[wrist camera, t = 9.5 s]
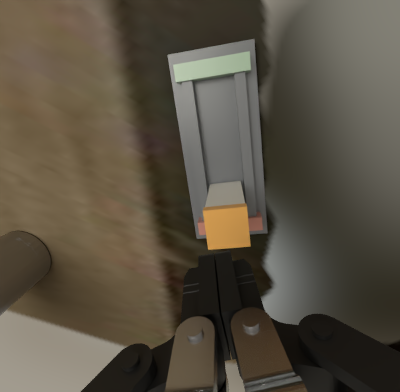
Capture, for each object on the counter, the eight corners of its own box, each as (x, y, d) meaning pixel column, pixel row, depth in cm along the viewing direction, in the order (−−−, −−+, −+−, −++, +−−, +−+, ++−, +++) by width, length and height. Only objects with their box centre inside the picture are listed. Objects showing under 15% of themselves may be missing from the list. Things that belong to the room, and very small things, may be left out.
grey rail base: (265, 228, 37) (269, 239, 34) (197, 234, 39) (195, 245, 35) (253, 42, 30) (256, 33, 27) (170, 57, 31) (163, 50, 28)
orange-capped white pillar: (244, 209, 35) (250, 246, 25) (213, 212, 35) (208, 249, 26) (241, 179, 34) (247, 206, 24) (209, 183, 34) (202, 210, 25)
